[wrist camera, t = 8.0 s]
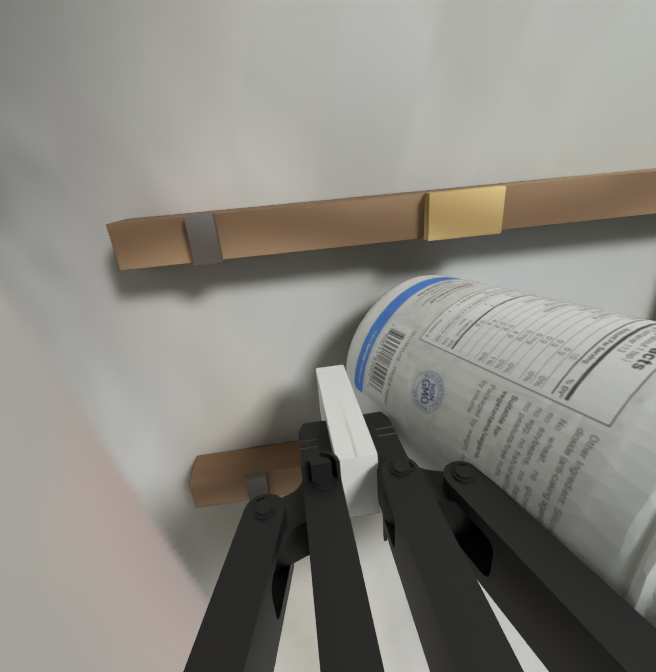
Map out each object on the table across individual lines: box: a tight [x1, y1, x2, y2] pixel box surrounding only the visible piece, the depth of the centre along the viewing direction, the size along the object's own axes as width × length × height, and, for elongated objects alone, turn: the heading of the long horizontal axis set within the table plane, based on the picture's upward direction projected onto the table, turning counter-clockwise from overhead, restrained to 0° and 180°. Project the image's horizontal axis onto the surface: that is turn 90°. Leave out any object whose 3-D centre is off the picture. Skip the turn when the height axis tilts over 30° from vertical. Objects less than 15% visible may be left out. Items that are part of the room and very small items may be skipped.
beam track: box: [106, 169, 656, 508], centre depth 21 cm, size 17×34×3 cm, turn 95°
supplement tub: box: [346, 275, 656, 628], centre depth 15 cm, size 10×10×15 cm
